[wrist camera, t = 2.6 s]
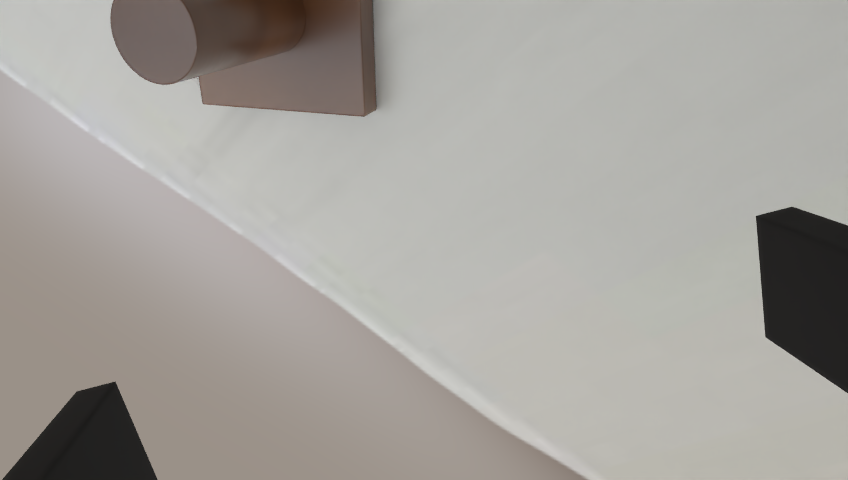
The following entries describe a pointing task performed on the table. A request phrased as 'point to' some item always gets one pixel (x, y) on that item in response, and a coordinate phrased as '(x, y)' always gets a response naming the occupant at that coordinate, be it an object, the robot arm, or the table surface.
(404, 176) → the table surface
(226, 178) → the table surface
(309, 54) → the peg
